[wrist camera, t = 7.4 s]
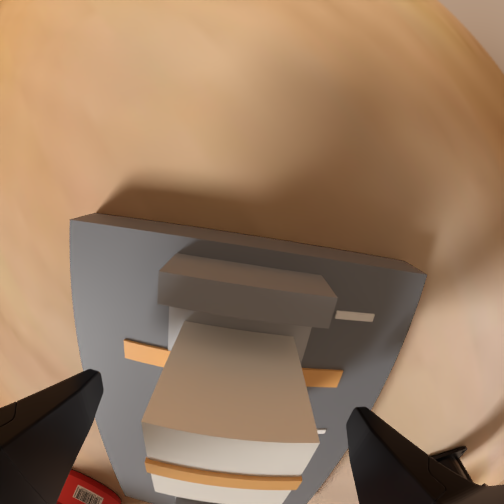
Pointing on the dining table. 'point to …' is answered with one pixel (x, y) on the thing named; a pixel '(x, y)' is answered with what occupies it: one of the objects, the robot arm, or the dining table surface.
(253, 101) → the dining table surface
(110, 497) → the canned food
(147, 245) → the console plate
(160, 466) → the fader tab
